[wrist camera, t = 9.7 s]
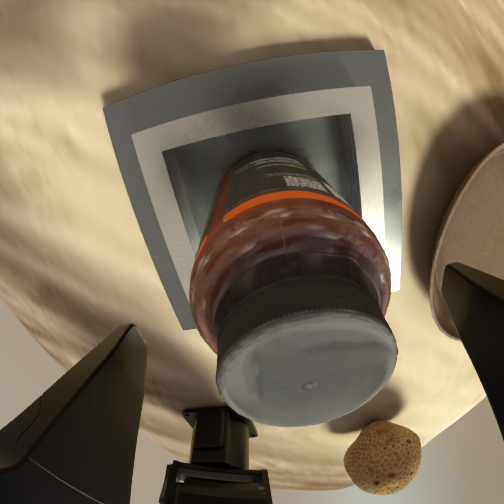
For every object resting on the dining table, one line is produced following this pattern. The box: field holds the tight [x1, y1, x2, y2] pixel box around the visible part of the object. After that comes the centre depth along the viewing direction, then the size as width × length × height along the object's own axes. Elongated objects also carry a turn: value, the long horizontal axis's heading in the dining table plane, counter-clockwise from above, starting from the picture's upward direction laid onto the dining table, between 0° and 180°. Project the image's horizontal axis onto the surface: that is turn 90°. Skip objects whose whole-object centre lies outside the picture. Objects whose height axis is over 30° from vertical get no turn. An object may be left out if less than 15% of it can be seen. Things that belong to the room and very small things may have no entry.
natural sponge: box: [344, 421, 421, 495], centre depth 25 cm, size 9×9×10 cm
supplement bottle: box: [189, 152, 398, 427], centre depth 11 cm, size 6×6×11 cm
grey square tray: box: [103, 50, 402, 330], centre depth 15 cm, size 15×15×3 cm
